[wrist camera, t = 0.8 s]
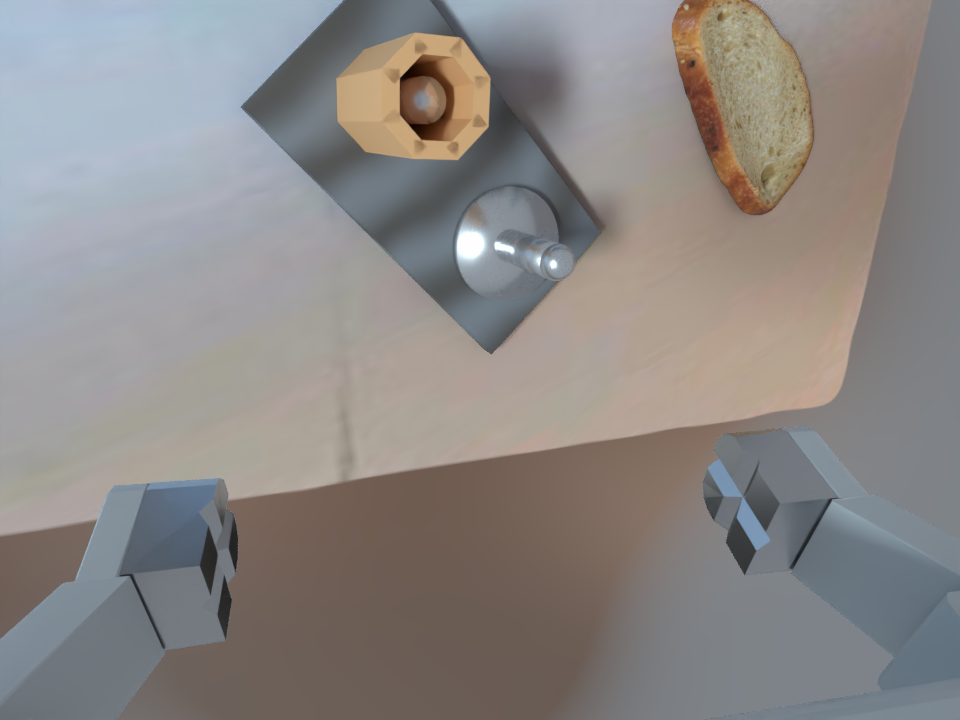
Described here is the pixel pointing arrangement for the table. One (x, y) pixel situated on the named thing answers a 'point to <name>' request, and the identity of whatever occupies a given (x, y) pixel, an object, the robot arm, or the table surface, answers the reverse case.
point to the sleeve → (376, 97)
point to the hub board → (430, 178)
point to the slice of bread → (744, 98)
